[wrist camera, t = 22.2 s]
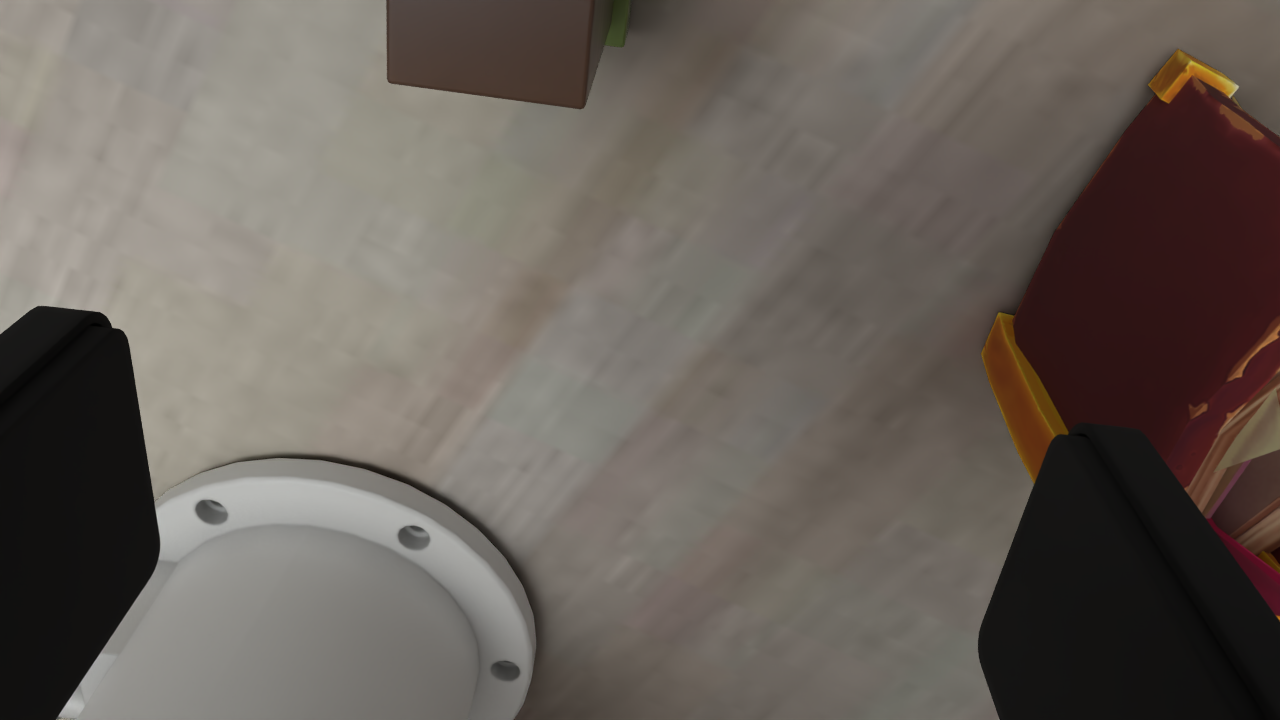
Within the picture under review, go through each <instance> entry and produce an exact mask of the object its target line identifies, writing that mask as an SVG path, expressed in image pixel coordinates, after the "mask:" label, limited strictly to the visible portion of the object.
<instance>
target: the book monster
mask: <svg viewBox="0 0 1280 720" xmlns="http://www.w3.org/2000/svg"><path fill="white" fill-rule="evenodd" d="M1148 86H1149V87H1150V88H1151V89H1152V90H1153V91H1154V92H1155V93H1156V94H1155V95H1154V97H1153V98H1152V99H1151V100H1150V101H1149V103H1148V104H1147V105H1146V106H1145V107H1144V109H1143V110H1142V111H1141V112H1140V114H1139V115H1138V116H1137V117H1136V118H1135V120H1134V121H1133V122H1132V123H1131V124H1130V126H1129V127H1128V128H1127V129H1126V131H1125V132H1124V134H1123V135H1122V136H1121V138H1120V139H1119V141H1118V142H1117V144H1116V145H1115V146H1114V148H1113V149H1112V151H1111V152H1110V154H1109V155H1108V156H1107V158H1106V159H1105V161H1104V162H1103V164H1102V165H1101V166H1100V168H1099V169H1098V171H1097V172H1096V174H1095V175H1094V176H1093V178H1092V179H1091V181H1090V182H1089V184H1088V185H1087V186H1086V188H1085V189H1084V191H1083V192H1082V193H1081V195H1080V196H1079V198H1078V199H1077V201H1076V202H1075V203H1074V205H1073V206H1072V208H1071V209H1070V211H1069V212H1068V213H1067V215H1066V216H1065V218H1064V219H1063V221H1062V222H1061V223H1060V225H1059V226H1058V228H1057V229H1056V231H1055V232H1054V234H1053V236H1052V238H1051V240H1050V242H1049V245H1048V247H1047V249H1046V251H1045V253H1044V255H1043V257H1042V259H1041V261H1040V263H1039V266H1038V268H1037V270H1036V272H1035V274H1034V276H1033V278H1032V280H1031V282H1030V284H1029V286H1028V289H1027V291H1026V293H1025V295H1024V297H1023V299H1022V301H1021V303H1020V305H1019V307H1018V310H1017V312H1016V314H1015V316H1013V315H1009V314H1005V313H1001V312H999V313H998V315H997V317H996V320H995V322H994V324H993V327H992V329H991V331H990V334H989V336H988V339H987V341H986V343H985V346H984V348H983V350H982V353H981V355H982V359H983V362H984V366H985V369H986V373H987V376H988V380H989V383H990V385H991V388H992V390H993V393H994V395H995V398H996V400H997V403H998V405H999V407H1000V410H1001V412H1002V415H1003V417H1004V420H1005V422H1006V425H1007V427H1008V430H1009V432H1010V435H1011V437H1012V440H1013V442H1014V445H1015V447H1016V450H1017V452H1018V454H1019V456H1020V458H1021V460H1022V462H1023V464H1024V466H1025V467H1026V469H1027V471H1028V473H1029V475H1030V477H1031V479H1032V481H1033V483H1034V484H1035V481H1036V478H1037V476H1038V473H1039V470H1040V468H1041V465H1042V462H1043V460H1044V457H1045V454H1046V452H1047V449H1048V447H1049V445H1050V443H1051V441H1052V439H1053V438H1054V437H1055V436H1057V435H1059V434H1065V435H1068V433H1069V431H1070V430H1071V429H1072V428H1073V427H1074V426H1075V425H1076V424H1078V423H1081V422H1084V423H1093V424H1101V425H1110V426H1119V427H1128V428H1135V429H1139V430H1140V431H1142V432H1143V433H1144V434H1145V435H1146V437H1147V438H1148V439H1149V441H1150V442H1151V443H1152V445H1153V446H1154V448H1155V449H1156V450H1157V452H1158V453H1159V455H1160V456H1161V457H1162V459H1163V460H1164V461H1165V463H1166V464H1167V466H1168V467H1169V468H1170V470H1171V471H1172V473H1173V474H1174V475H1175V477H1176V478H1177V479H1178V481H1179V482H1180V484H1181V485H1182V486H1183V488H1184V489H1185V491H1186V492H1187V493H1188V495H1189V496H1190V497H1191V499H1192V500H1193V502H1194V503H1195V504H1196V506H1197V507H1198V509H1199V510H1200V511H1201V513H1202V514H1203V515H1204V517H1205V518H1206V520H1207V521H1208V522H1209V524H1210V525H1211V526H1212V528H1213V529H1214V531H1215V532H1216V533H1217V535H1218V536H1219V538H1220V539H1221V540H1222V542H1223V543H1224V544H1225V546H1226V547H1227V549H1228V550H1229V551H1230V553H1231V554H1232V556H1233V557H1234V558H1235V560H1236V561H1237V562H1238V564H1239V565H1240V567H1241V568H1242V569H1243V571H1244V572H1245V574H1246V575H1247V576H1248V578H1249V579H1250V580H1251V582H1252V583H1253V585H1254V586H1255V587H1256V589H1257V590H1258V592H1259V593H1260V594H1261V596H1262V597H1263V598H1264V600H1265V601H1266V603H1267V604H1268V605H1269V607H1270V608H1271V610H1272V611H1273V612H1274V614H1275V615H1276V616H1277V618H1278V619H1279V621H1280V137H1279V136H1277V135H1276V134H1275V133H1273V132H1272V131H1270V130H1269V129H1268V128H1266V127H1265V126H1264V125H1262V124H1261V123H1260V122H1258V121H1257V120H1256V119H1254V118H1253V117H1252V116H1250V115H1249V114H1248V113H1246V112H1245V111H1244V110H1242V108H1241V107H1240V105H1239V103H1238V102H1237V100H1236V99H1235V97H1234V96H1233V94H1234V93H1235V91H1236V90H1237V89H1238V88H1239V86H1238V85H1237V84H1235V83H1234V82H1233V81H1232V80H1230V79H1229V78H1228V77H1227V76H1225V75H1224V74H1223V73H1221V72H1219V71H1217V70H1216V69H1214V68H1212V67H1210V66H1208V65H1207V64H1205V63H1203V62H1201V61H1199V60H1198V59H1196V58H1194V57H1192V56H1190V55H1188V54H1187V53H1185V52H1183V51H1181V50H1179V49H1177V50H1176V52H1175V53H1174V54H1173V55H1172V56H1171V58H1170V59H1169V60H1168V61H1167V62H1166V64H1165V65H1164V66H1163V67H1162V68H1161V70H1160V71H1159V72H1158V73H1157V74H1156V76H1155V77H1154V78H1153V79H1152V80H1151V82H1150V83H1149V84H1148ZM1231 96H1232V100H1231V99H1230V97H1231Z"/></svg>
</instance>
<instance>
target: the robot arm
mask: <svg viewBox="0 0 1280 720" xmlns="http://www.w3.org/2000/svg"><path fill="white" fill-rule="evenodd" d="M536 645H537V643H536V633H535V623H534V615H533V612H532V609H531V607H530V604H529V601H528V598H527V596H526V593H525V590H524V587H523V585H522V584H521V582H520V581H519V579H518V577H517V576H516V574H515V573H514V571H513V570H512V568H511V566H510V565H509V563H508V562H507V560H506V559H505V557H504V556H503V555H502V554H501V553H500V552H499V551H498V550H497V548H496V547H495V546H494V545H493V544H492V543H491V542H490V541H489V540H488V539H487V538H486V537H485V536H484V535H483V534H482V533H481V532H480V530H479V529H477V528H476V527H475V526H473V525H472V524H471V523H469V522H468V521H467V520H465V519H464V518H463V517H461V516H460V515H459V514H457V513H456V512H455V511H453V510H452V509H451V508H449V507H448V506H447V505H445V504H443V503H442V502H440V501H438V500H436V499H434V498H432V497H430V496H428V495H427V494H425V493H423V492H421V491H419V490H417V489H415V488H413V487H412V486H410V485H408V484H405V483H403V482H400V481H397V480H394V479H391V478H389V477H386V476H383V475H380V474H377V473H375V472H372V471H369V470H366V469H362V468H357V467H352V466H347V465H343V464H338V463H333V462H328V461H323V460H308V459H289V458H272V459H263V460H254V461H244V462H236V463H232V464H229V465H226V466H222V467H219V468H215V469H212V470H209V471H205V472H202V473H199V474H197V475H195V476H193V477H191V478H189V479H188V480H186V481H184V482H182V483H180V484H178V485H176V486H175V487H173V488H171V489H169V490H167V491H166V492H165V493H164V494H163V495H162V496H161V497H160V498H159V499H157V500H156V501H155V502H154V497H153V491H152V485H151V478H150V472H149V466H148V460H147V453H146V447H145V441H144V435H143V428H142V422H141V416H140V410H139V404H138V397H137V391H136V385H135V379H134V372H133V366H132V360H131V354H130V348H129V343H128V339H127V337H126V335H125V333H124V332H123V331H122V330H120V329H116V328H112V326H111V323H110V321H109V320H108V318H107V317H106V316H105V315H104V314H102V313H101V312H93V311H84V310H75V309H67V308H58V307H49V306H38V307H36V308H34V309H32V310H30V311H29V312H28V313H26V314H25V315H24V316H23V317H21V318H20V319H19V320H18V321H16V322H15V323H14V324H13V325H11V326H10V327H9V328H8V329H7V330H5V331H4V332H3V333H2V334H0V720H56V719H60V718H69V719H76V720H514V718H515V717H516V715H517V714H518V712H519V711H520V709H521V708H522V706H523V704H524V701H525V698H526V695H527V692H528V689H529V685H530V682H531V679H532V673H533V666H534V659H535V652H536ZM978 653H979V659H980V663H981V667H982V670H983V673H984V676H985V678H986V681H987V684H988V687H989V690H990V693H991V696H992V699H993V702H994V704H995V707H996V710H997V713H998V716H999V719H1000V720H1280V621H1279V619H1278V618H1277V616H1276V615H1275V614H1274V612H1273V611H1272V610H1271V608H1270V607H1269V605H1268V604H1267V603H1266V601H1265V600H1264V598H1263V597H1262V596H1261V594H1260V593H1259V592H1258V590H1257V589H1256V587H1255V586H1254V585H1253V583H1252V582H1251V580H1250V579H1249V578H1248V576H1247V575H1246V574H1245V572H1244V571H1243V569H1242V568H1241V567H1240V565H1239V564H1238V562H1237V561H1236V560H1235V558H1234V557H1233V556H1232V554H1231V553H1230V551H1229V550H1228V549H1227V547H1226V546H1225V544H1224V543H1223V542H1222V540H1221V539H1220V538H1219V536H1218V535H1217V533H1216V532H1215V531H1214V529H1213V528H1212V526H1211V525H1210V524H1209V522H1208V521H1207V520H1206V518H1205V517H1204V515H1203V514H1202V513H1201V511H1200V510H1199V509H1198V507H1197V506H1196V504H1195V503H1194V502H1193V500H1192V499H1191V497H1190V496H1189V495H1188V493H1187V492H1186V491H1185V489H1184V488H1183V486H1182V485H1181V484H1180V482H1179V481H1178V479H1177V478H1176V477H1175V475H1174V474H1173V473H1172V471H1171V470H1170V468H1169V467H1168V466H1167V464H1166V463H1165V461H1164V460H1163V459H1162V457H1161V456H1160V455H1159V453H1158V452H1157V450H1156V449H1155V448H1154V446H1153V445H1152V443H1151V442H1150V441H1149V439H1148V438H1147V437H1146V435H1145V434H1144V433H1143V432H1142V431H1140V430H1139V429H1135V428H1128V427H1119V426H1110V425H1101V424H1093V423H1084V422H1081V423H1078V424H1076V425H1075V426H1074V427H1073V428H1072V429H1071V430H1070V431H1069V433H1068V435H1065V434H1059V435H1057V436H1055V437H1054V438H1053V439H1052V441H1051V443H1050V445H1049V447H1048V449H1047V452H1046V454H1045V457H1044V460H1043V462H1042V465H1041V468H1040V470H1039V473H1038V476H1037V478H1036V481H1035V484H1034V486H1033V489H1032V491H1031V494H1030V497H1029V499H1028V502H1027V505H1026V507H1025V510H1024V513H1023V515H1022V518H1021V521H1020V523H1019V526H1018V529H1017V531H1016V534H1015V537H1014V539H1013V542H1012V545H1011V547H1010V550H1009V553H1008V555H1007V558H1006V560H1005V563H1004V566H1003V568H1002V571H1001V574H1000V576H999V579H998V582H997V584H996V587H995V590H994V592H993V595H992V598H991V600H990V603H989V606H988V608H987V611H986V614H985V616H984V619H983V622H982V624H981V628H980V631H979V638H978Z"/></svg>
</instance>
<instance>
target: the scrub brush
mask: <svg viewBox="0 0 1280 720" xmlns="http://www.w3.org/2000/svg"><path fill="white" fill-rule="evenodd" d="M631 3H632V0H386V9H387V80H388V82H389V83H392V84H398V85H406V86H413V87H420V88H428V89H435V90H443V91H450V92H457V93H465V94H472V95H479V96H487V97H494V98H502V99H509V100H516V101H524V102H531V103H538V104H546V105H553V106H561V107H568V108H575V109H583V108H584V107H585V105H586V102H587V99H588V96H589V93H590V89H591V86H592V83H593V80H594V77H595V74H596V70H597V67H598V64H599V61H600V58H601V55H602V51H603V48H604V45H606V46H614V47H624V45H625V41H626V37H627V33H628V29H629V20H630V12H631Z"/></svg>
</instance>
